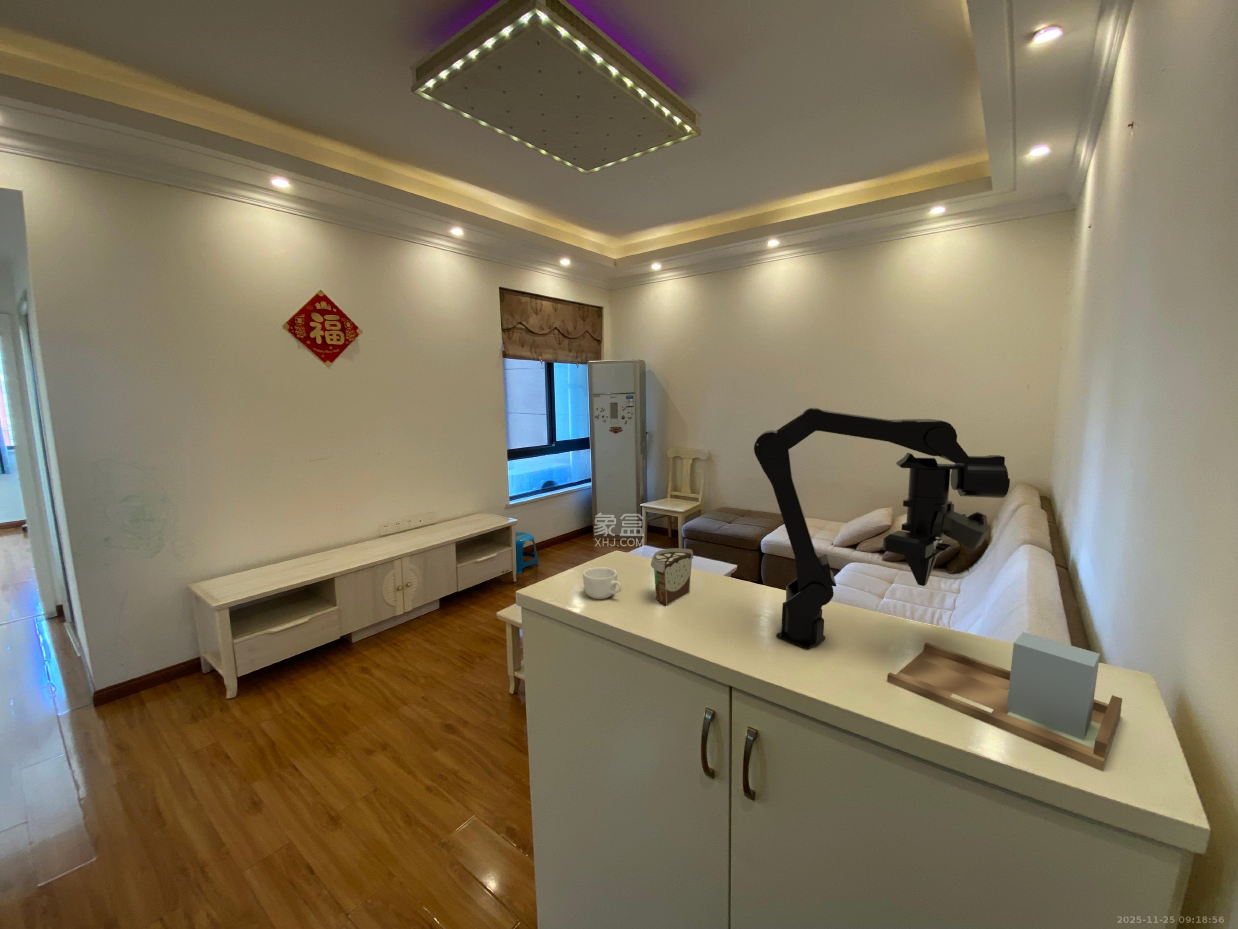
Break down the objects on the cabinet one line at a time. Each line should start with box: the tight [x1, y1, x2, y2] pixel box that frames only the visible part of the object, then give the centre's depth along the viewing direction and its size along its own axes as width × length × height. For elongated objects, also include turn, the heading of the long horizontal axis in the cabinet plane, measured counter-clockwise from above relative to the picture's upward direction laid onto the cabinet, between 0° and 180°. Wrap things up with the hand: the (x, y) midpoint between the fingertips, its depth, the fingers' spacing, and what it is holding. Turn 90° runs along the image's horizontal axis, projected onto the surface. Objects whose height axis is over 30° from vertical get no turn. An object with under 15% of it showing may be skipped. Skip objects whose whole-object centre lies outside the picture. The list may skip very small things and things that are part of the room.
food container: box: [650, 548, 694, 607], centre depth 111 cm, size 12×6×10 cm, turn 141°
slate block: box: [1006, 631, 1101, 740], centre depth 67 cm, size 8×5×10 cm, turn 40°
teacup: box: [582, 566, 622, 600], centre depth 112 cm, size 10×8×5 cm
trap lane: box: [886, 642, 1123, 772], centre depth 72 cm, size 24×16×4 cm, turn 40°
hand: (921, 585), depth 85 cm, fingers closed
